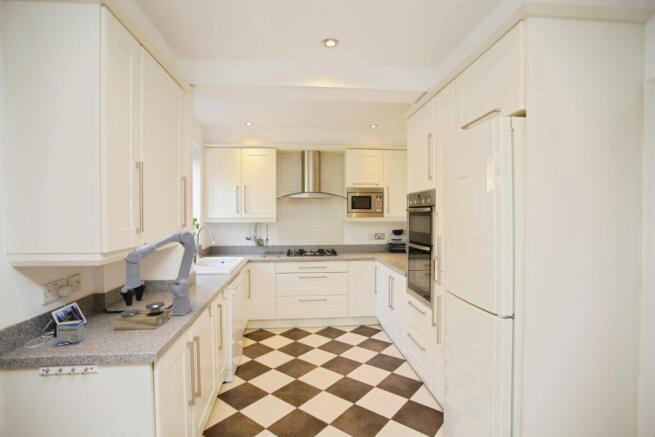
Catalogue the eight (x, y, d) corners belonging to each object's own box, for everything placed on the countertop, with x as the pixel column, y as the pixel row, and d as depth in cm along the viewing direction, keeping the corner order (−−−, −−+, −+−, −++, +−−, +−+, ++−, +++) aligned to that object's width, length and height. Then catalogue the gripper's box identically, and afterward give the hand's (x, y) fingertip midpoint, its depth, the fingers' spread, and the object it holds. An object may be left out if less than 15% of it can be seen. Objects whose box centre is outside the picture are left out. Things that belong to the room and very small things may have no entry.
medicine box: (56, 346, 124) (55, 325, 124) (62, 341, 129) (62, 321, 128) (79, 343, 126) (78, 322, 126) (84, 339, 131) (84, 319, 131)
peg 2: (151, 311, 151) (151, 302, 151) (167, 311, 151) (167, 301, 151) (142, 317, 143) (141, 307, 143) (159, 316, 143) (159, 307, 143)
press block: (131, 319, 153) (131, 309, 153) (169, 318, 154) (169, 309, 153) (114, 329, 140) (113, 319, 140) (155, 329, 141) (155, 318, 140)
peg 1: (127, 319, 151) (127, 309, 151) (143, 318, 151) (143, 309, 151) (116, 325, 143) (116, 315, 143) (133, 324, 143) (133, 314, 143)
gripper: (134, 272, 153) (135, 298, 154) (114, 279, 139) (115, 308, 139) (148, 272, 153) (149, 298, 154) (129, 278, 139) (131, 308, 139)
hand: (134, 303), depth 147 cm, fingers open, 7 cm apart
